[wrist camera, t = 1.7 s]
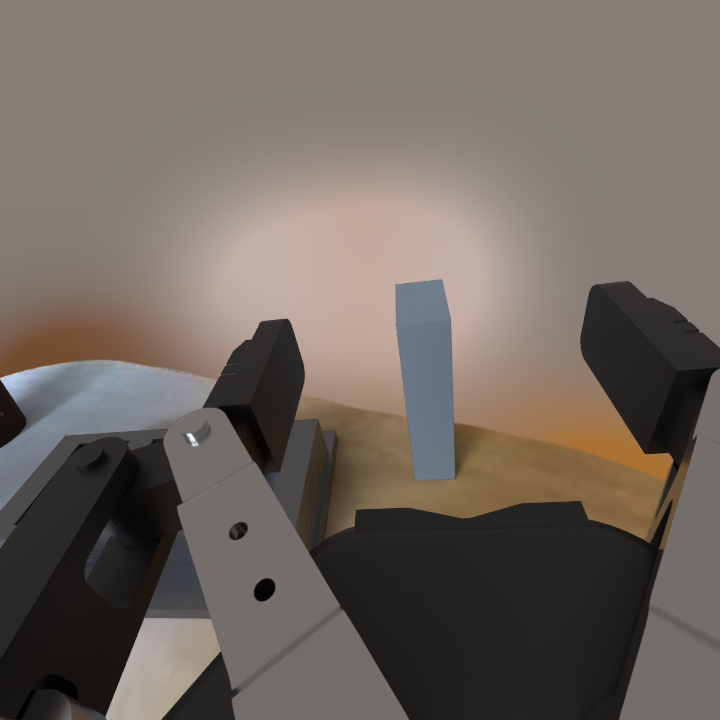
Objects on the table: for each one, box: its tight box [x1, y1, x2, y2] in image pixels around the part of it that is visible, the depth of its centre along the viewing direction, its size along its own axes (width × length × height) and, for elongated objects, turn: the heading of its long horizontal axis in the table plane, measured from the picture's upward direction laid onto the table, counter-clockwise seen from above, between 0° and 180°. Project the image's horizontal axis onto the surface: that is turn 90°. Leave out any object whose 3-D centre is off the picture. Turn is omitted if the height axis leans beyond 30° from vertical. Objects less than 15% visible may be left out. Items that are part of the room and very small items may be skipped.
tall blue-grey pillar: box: [396, 279, 455, 481], centre depth 28 cm, size 3×5×14 cm, turn 177°
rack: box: [0, 419, 338, 618], centre depth 30 cm, size 22×14×5 cm, turn 87°
